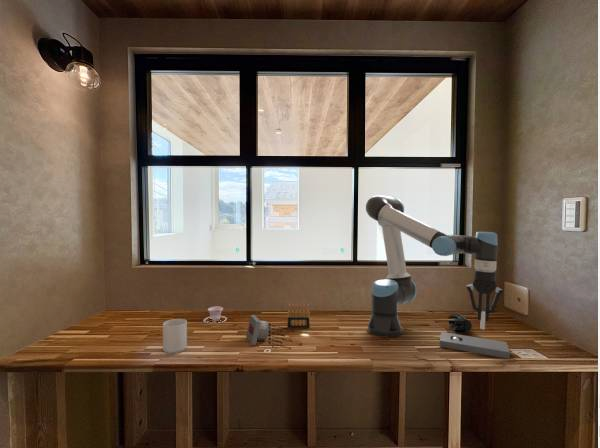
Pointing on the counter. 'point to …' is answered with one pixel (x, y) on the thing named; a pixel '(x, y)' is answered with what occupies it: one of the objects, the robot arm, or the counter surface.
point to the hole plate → (475, 345)
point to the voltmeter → (261, 331)
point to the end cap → (459, 324)
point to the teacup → (215, 314)
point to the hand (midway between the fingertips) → (482, 328)
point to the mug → (174, 336)
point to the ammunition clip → (294, 317)
